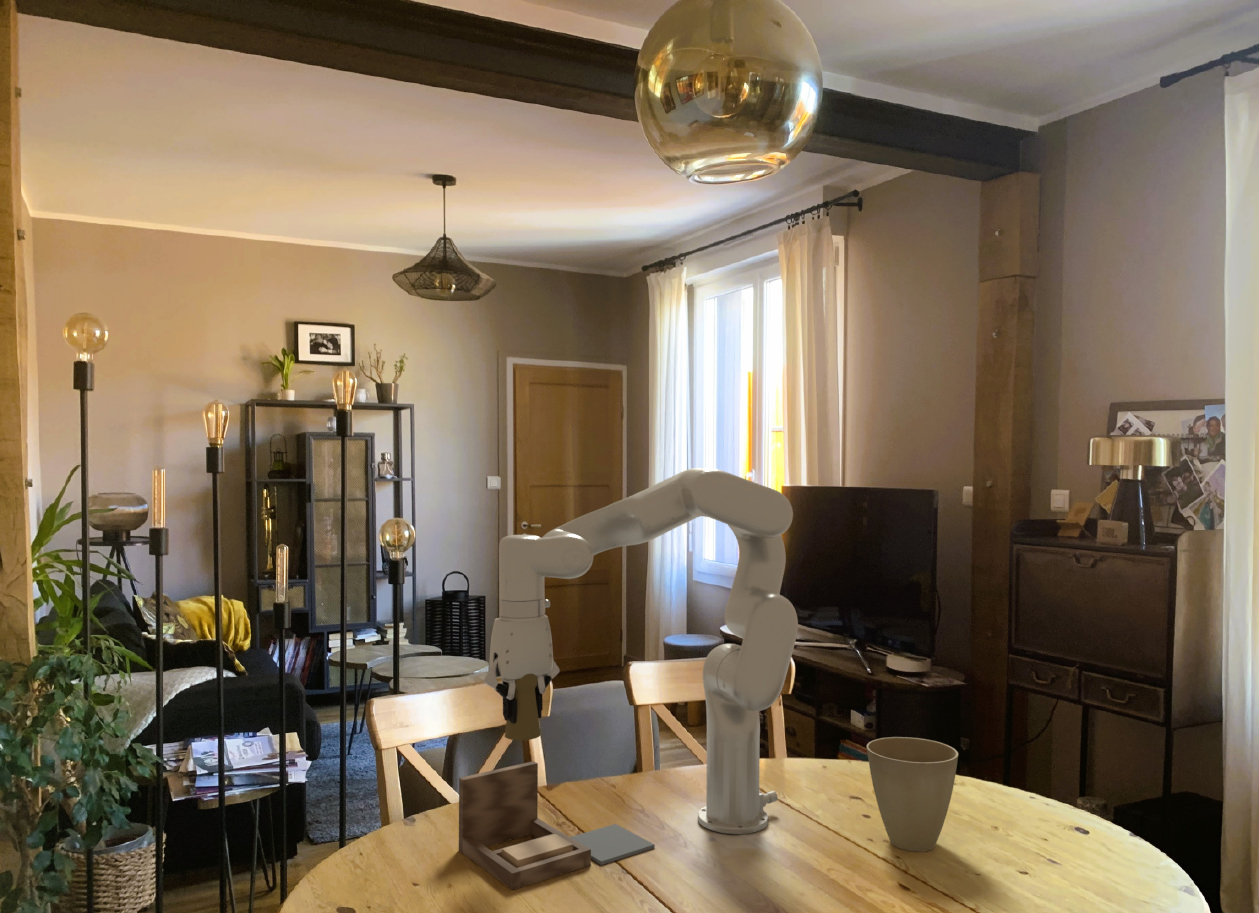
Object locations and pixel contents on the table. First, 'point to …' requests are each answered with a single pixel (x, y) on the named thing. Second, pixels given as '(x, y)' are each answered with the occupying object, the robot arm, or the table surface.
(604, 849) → the slate mat
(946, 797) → the plant pot
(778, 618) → the robot arm
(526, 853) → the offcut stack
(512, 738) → the olive pawn
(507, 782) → the open walnut box
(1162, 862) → the table surface
